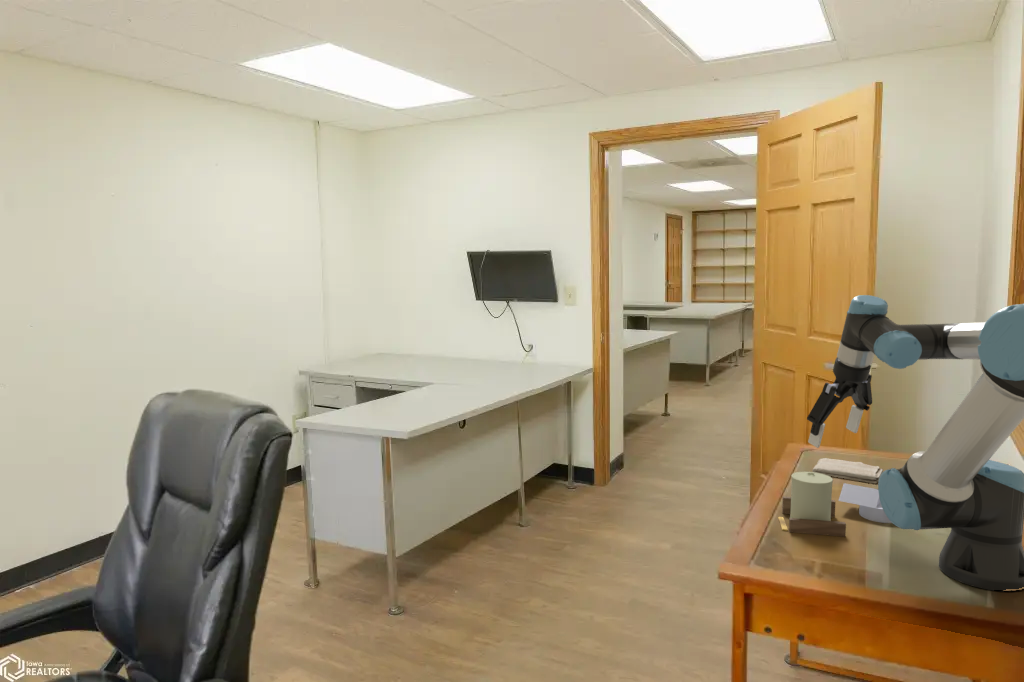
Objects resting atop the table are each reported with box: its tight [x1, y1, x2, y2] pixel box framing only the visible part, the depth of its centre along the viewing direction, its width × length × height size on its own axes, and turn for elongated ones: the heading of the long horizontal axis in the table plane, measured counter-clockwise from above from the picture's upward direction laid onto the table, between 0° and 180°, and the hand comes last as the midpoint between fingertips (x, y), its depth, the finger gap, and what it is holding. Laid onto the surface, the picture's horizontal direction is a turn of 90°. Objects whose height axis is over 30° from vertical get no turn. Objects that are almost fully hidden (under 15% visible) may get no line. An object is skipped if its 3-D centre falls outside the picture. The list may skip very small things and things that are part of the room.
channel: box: [777, 496, 847, 538], centre depth 165 cm, size 13×14×4 cm
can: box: [789, 471, 834, 521], centre depth 164 cm, size 9×9×12 cm
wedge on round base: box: [837, 482, 893, 524], centre depth 170 cm, size 9×7×13 cm
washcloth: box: [811, 457, 884, 484], centre depth 202 cm, size 12×18×3 cm, turn 56°
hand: (832, 437), depth 167 cm, fingers open, 13 cm apart
